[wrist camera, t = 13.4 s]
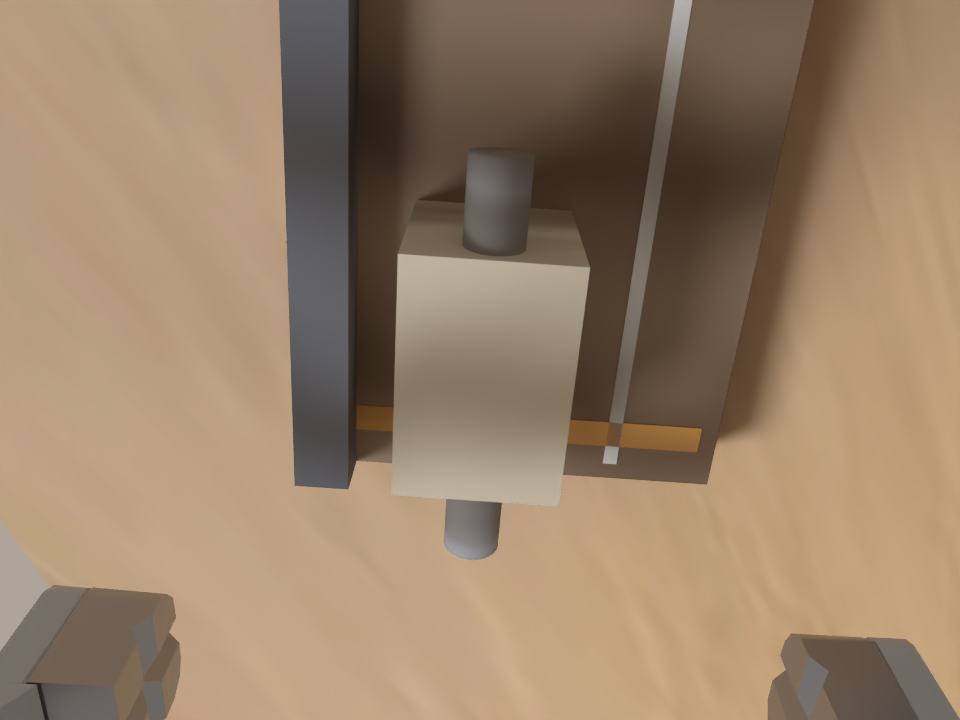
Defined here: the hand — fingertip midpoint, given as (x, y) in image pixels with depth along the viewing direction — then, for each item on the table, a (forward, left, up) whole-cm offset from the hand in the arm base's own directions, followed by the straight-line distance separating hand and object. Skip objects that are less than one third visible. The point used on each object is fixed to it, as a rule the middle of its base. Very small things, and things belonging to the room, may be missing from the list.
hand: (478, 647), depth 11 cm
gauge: (0, 0, -13) cm, 13 cm away
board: (-5, +1, -15) cm, 15 cm away
